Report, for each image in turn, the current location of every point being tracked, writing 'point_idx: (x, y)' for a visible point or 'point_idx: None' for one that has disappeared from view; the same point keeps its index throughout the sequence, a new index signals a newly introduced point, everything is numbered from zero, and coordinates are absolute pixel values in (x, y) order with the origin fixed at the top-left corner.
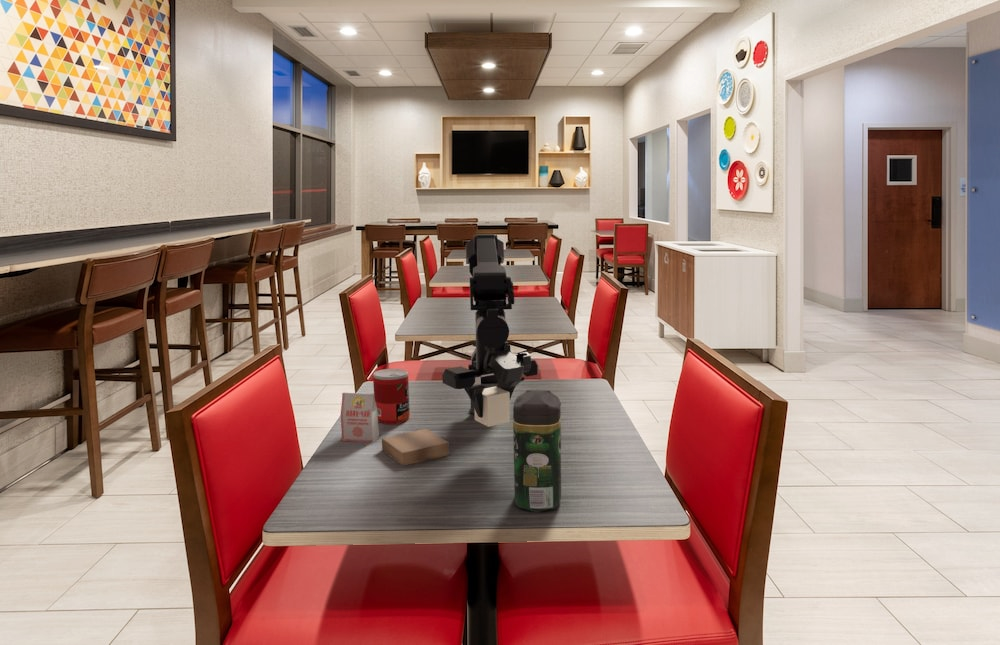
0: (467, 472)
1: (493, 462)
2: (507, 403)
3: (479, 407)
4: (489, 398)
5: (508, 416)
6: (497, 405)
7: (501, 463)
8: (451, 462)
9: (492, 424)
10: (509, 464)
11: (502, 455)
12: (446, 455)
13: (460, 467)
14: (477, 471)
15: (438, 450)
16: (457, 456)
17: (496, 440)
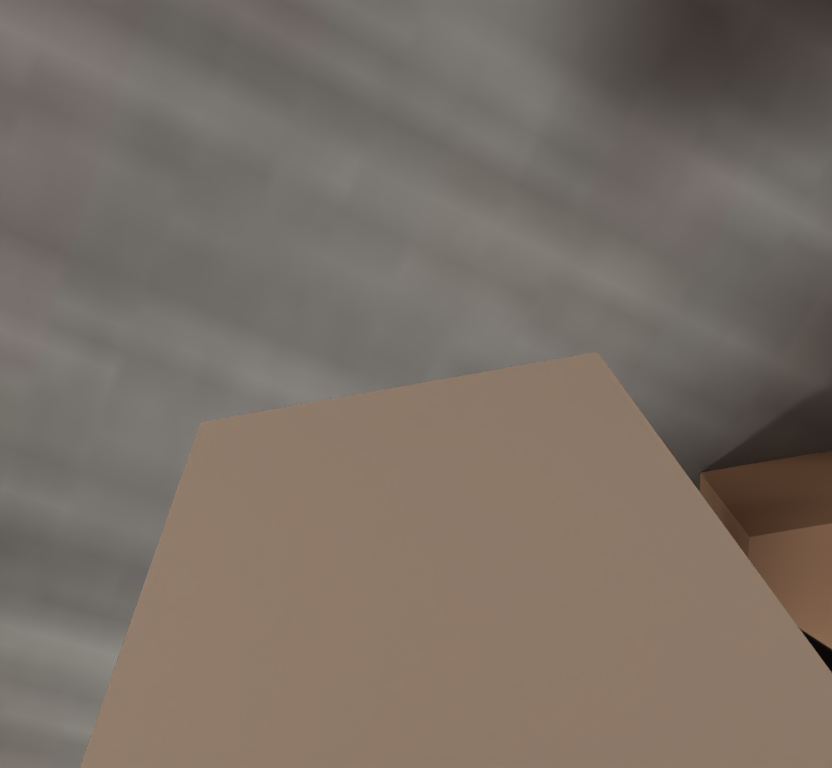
0: (785, 51)
1: (463, 178)
2: (182, 650)
3: (820, 650)
4: (806, 758)
5: (211, 468)
6: (470, 601)
7: (405, 120)
8: (769, 329)
9: (524, 373)
10: (343, 58)
11: (320, 301)
12: (724, 468)
13: (770, 195)
14: (697, 30)
15: (823, 488)
16: (664, 422)
17: None
